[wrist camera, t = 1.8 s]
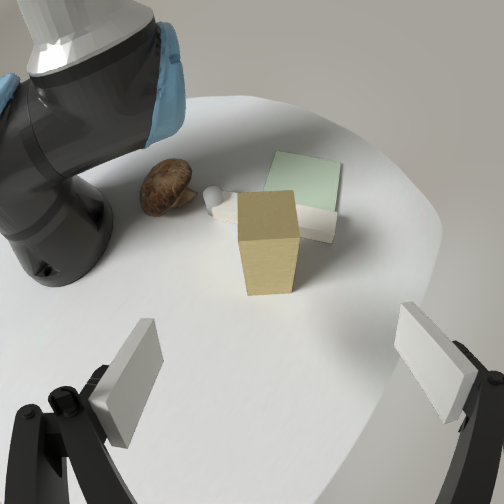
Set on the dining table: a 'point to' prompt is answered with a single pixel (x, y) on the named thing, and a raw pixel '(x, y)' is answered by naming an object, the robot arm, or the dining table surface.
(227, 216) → the door edge
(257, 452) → the dining table surface
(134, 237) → the dining table surface
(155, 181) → the mushroom
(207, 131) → the dining table surface
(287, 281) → the block
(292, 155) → the plate
